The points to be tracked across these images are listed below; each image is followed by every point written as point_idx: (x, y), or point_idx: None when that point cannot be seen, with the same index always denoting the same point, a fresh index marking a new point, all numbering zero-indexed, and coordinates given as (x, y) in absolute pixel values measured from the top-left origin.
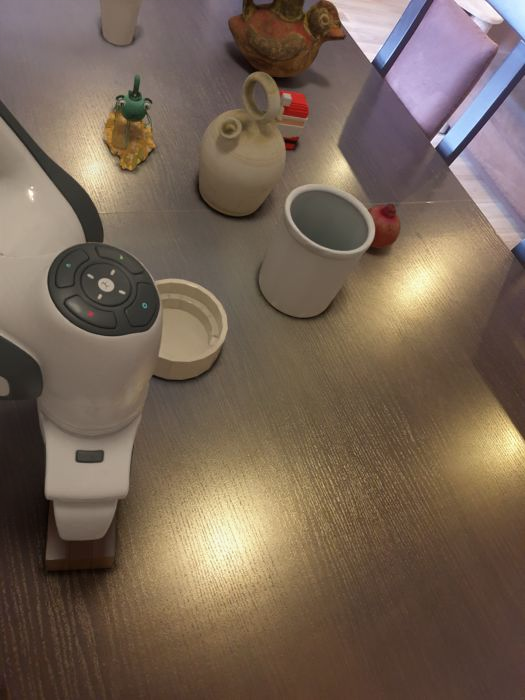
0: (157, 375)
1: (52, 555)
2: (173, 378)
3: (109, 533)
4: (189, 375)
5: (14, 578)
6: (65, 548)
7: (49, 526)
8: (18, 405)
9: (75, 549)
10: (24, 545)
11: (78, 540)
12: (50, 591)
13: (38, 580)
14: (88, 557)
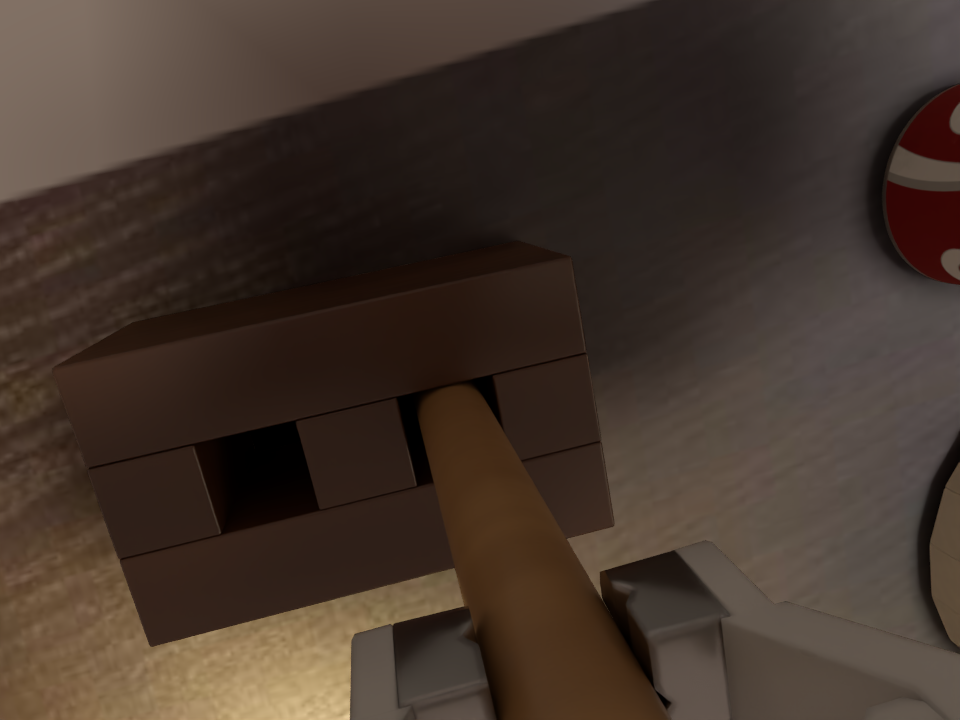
0: (942, 510)
1: (80, 395)
2: (936, 568)
3: (246, 598)
4: (957, 627)
5: (75, 215)
6: (130, 439)
7: (214, 340)
8: (763, 20)
9: (136, 483)
10: (207, 214)
11: (182, 483)
12: (62, 358)
13: (90, 304)
14: (116, 545)
